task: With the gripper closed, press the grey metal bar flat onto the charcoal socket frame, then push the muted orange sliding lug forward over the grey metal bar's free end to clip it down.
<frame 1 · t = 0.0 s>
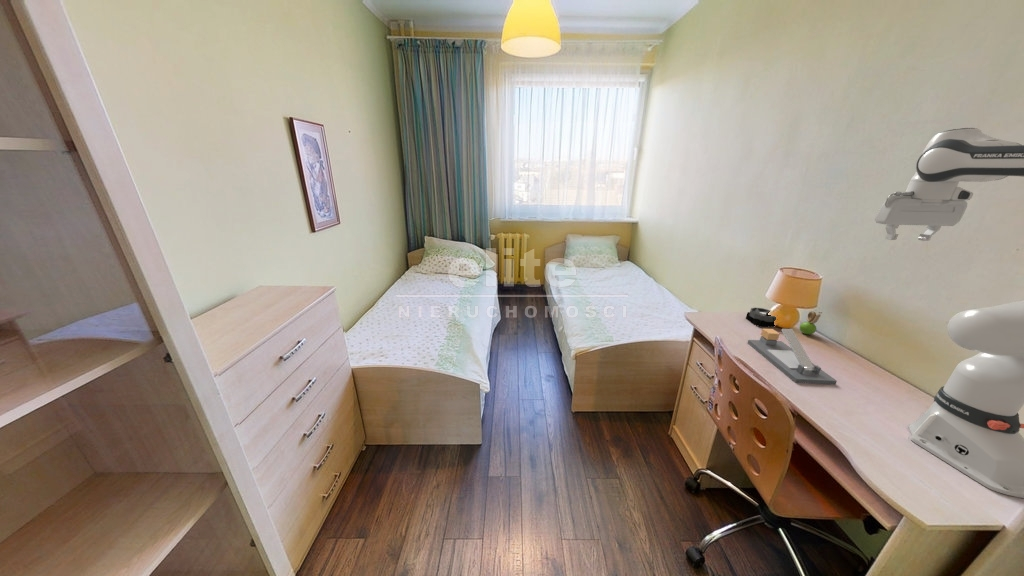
hand: (906, 240, 98), 48 cm above the table, fingers open, 8 cm apart
cpu cooler: (760, 323, 152), on the table
snail figurine: (806, 334, 142), on the table
grey metal bar: (797, 349, 117), point 7 cm above the table, hinge at 30.0°
socket frame: (786, 361, 122), on the table
latch: (770, 334, 130), point 5 cm above the table, slide at 0.0 cm
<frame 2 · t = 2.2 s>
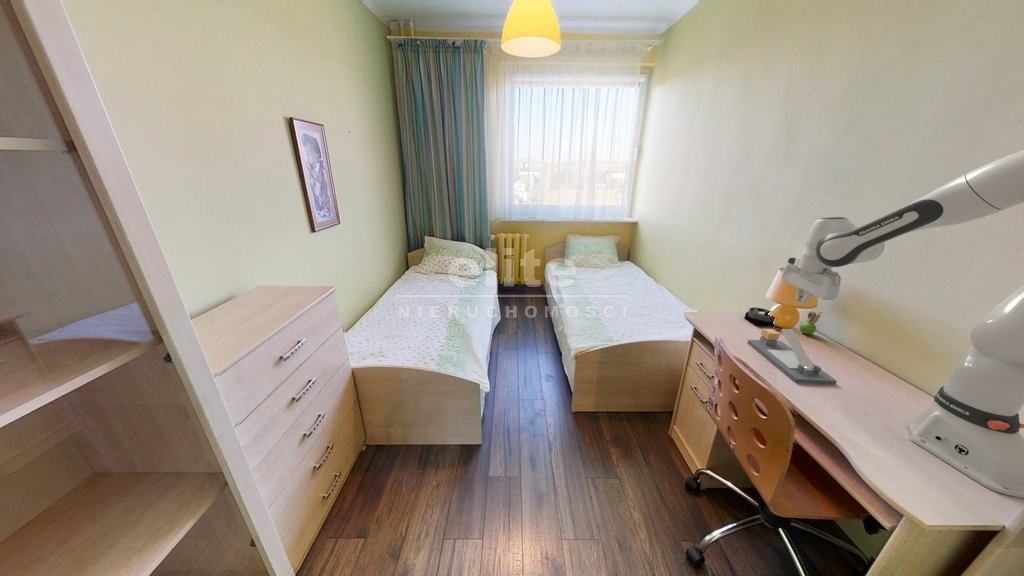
hand: (801, 301, 116), 23 cm above the table, fingers closed
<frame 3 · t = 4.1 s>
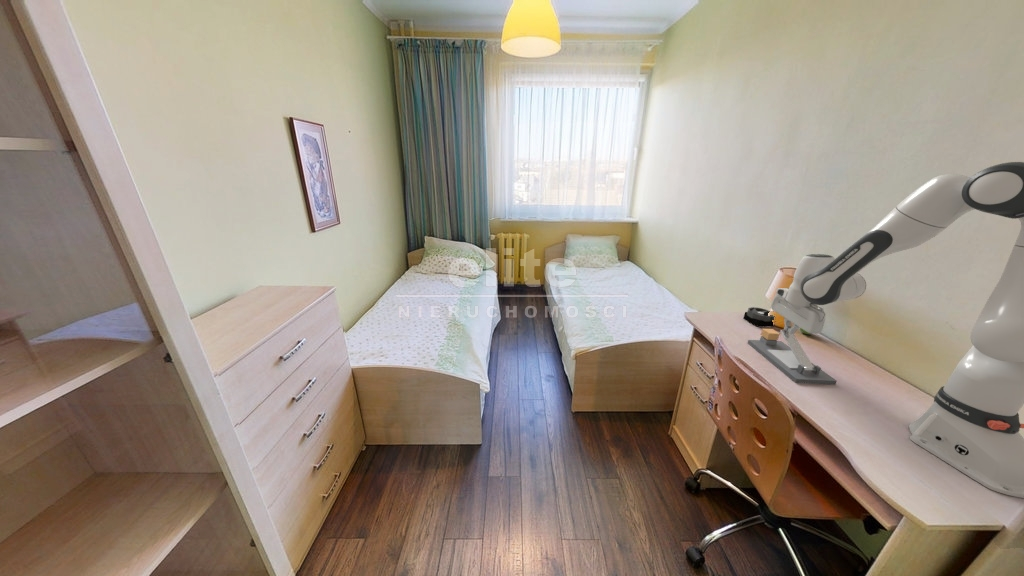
hand: (788, 331, 121), 11 cm above the table, fingers closed
grey metal bar: (797, 349, 117), point 7 cm above the table, hinge at 27.4°, touching gripper
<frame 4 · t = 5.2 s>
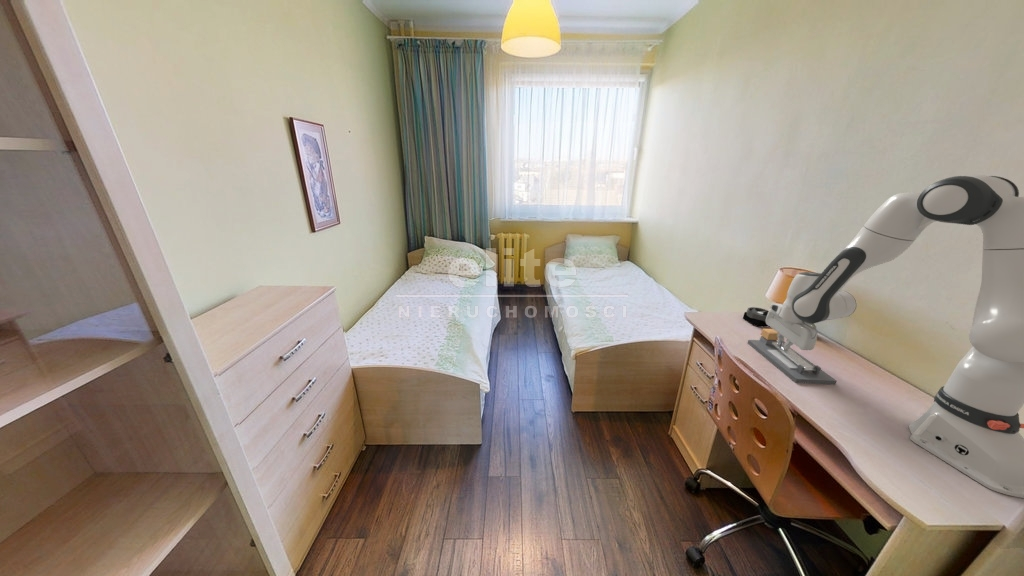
hand: (782, 346, 124), 4 cm above the table, fingers closed on grey metal bar
grey metal bar: (792, 355, 119), point 3 cm above the table, hinge at 3.1°, touching gripper
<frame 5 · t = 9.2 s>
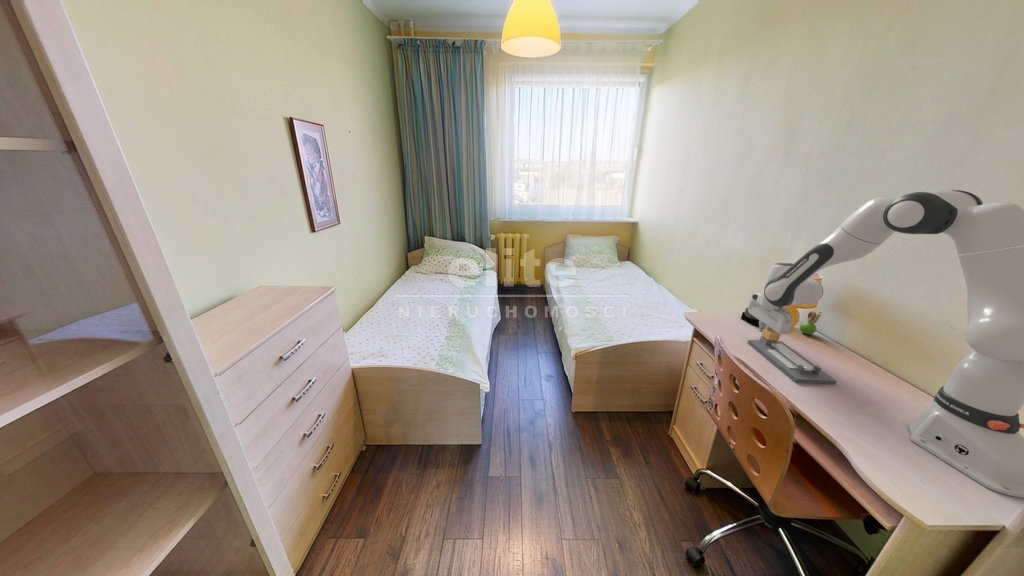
hand: (763, 332, 134), 4 cm above the table, fingers closed
grey metal bar: (792, 356, 119), point 3 cm above the table, hinge at 1.1°
latch: (770, 334, 130), point 5 cm above the table, slide at 0.5 cm, touching gripper
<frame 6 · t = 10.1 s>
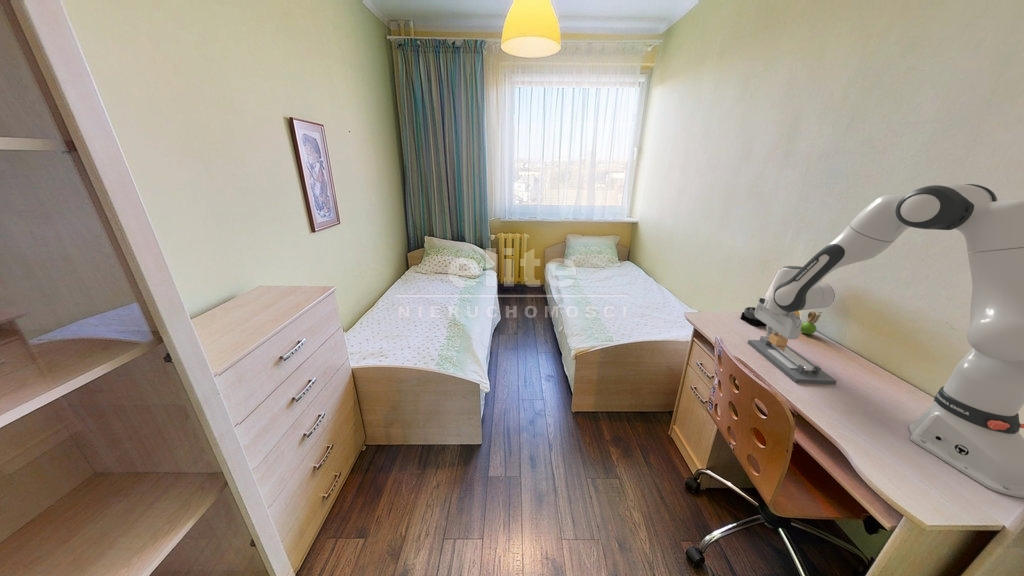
hand: (770, 337, 130), 4 cm above the table, fingers closed
latch: (778, 340, 126), point 5 cm above the table, slide at 4.6 cm, touching gripper
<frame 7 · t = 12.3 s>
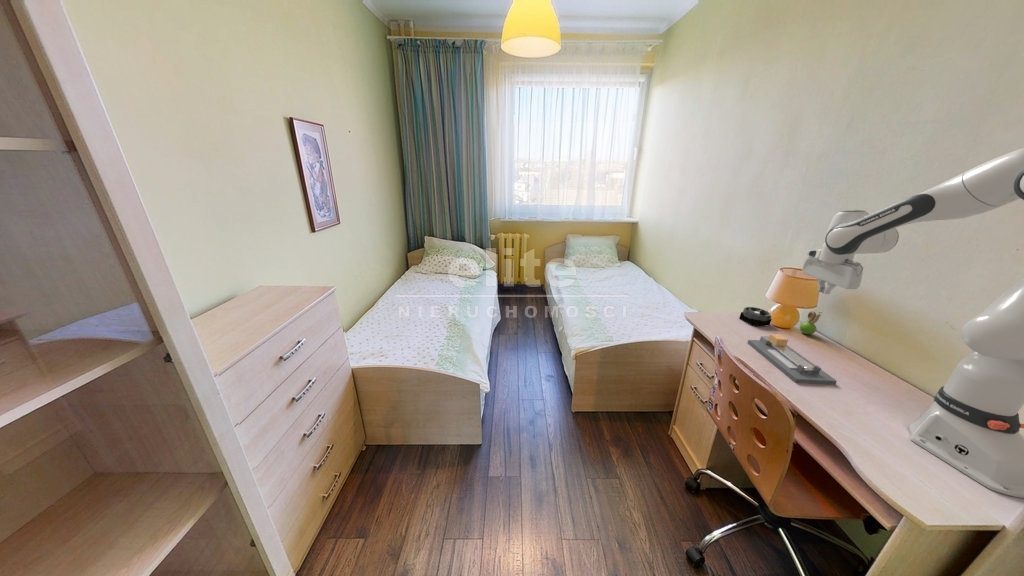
hand: (823, 292, 121), 25 cm above the table, fingers closed
latch: (778, 340, 126), point 5 cm above the table, slide at 4.5 cm
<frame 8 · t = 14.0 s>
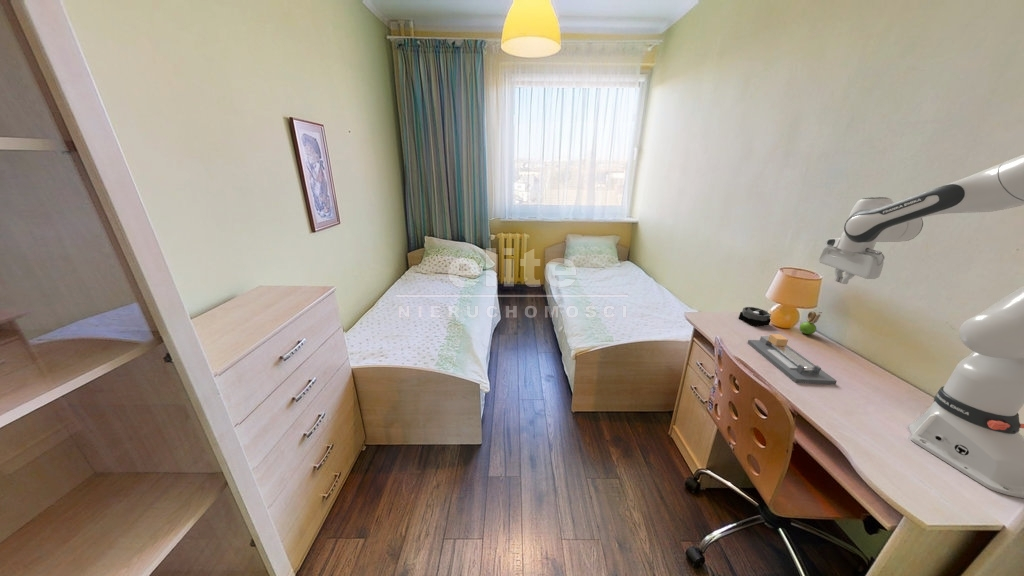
hand: (840, 282, 118), 29 cm above the table, fingers closed
at the end: grey metal bar at +1° (first picture: +30°); latch slide at 4.5 cm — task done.
